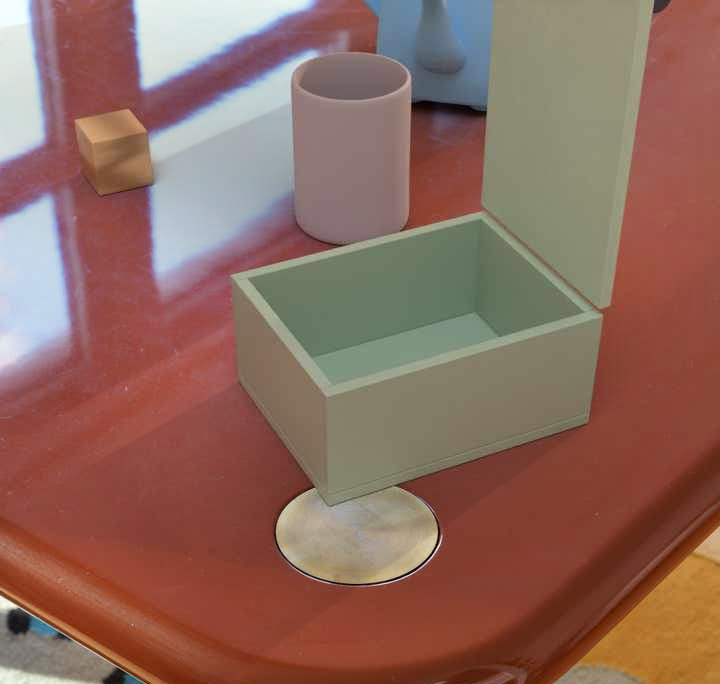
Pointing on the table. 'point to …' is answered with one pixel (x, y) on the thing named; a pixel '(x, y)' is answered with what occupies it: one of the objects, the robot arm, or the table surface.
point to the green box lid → (565, 129)
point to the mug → (351, 146)
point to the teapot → (439, 46)
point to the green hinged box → (413, 353)
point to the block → (114, 152)
